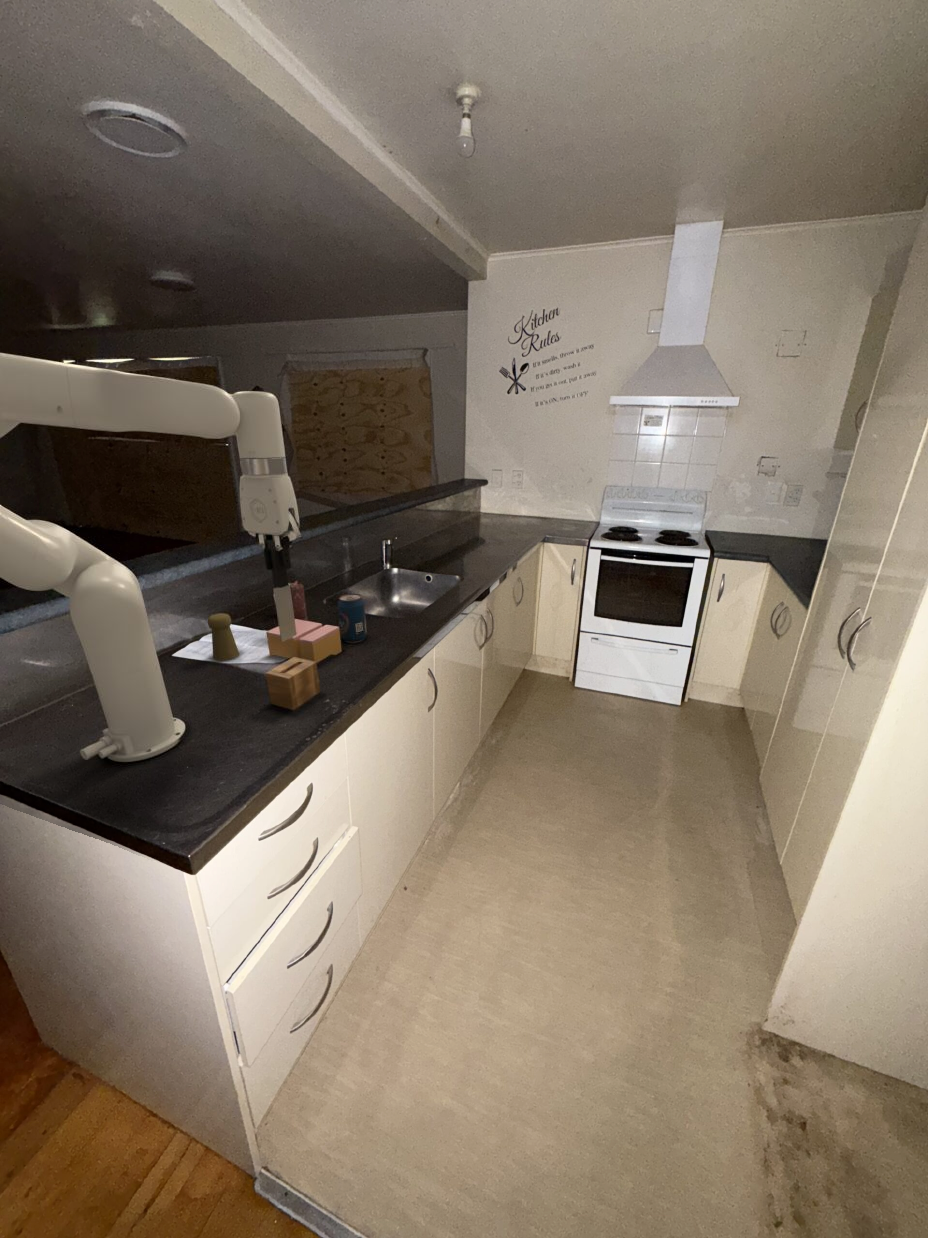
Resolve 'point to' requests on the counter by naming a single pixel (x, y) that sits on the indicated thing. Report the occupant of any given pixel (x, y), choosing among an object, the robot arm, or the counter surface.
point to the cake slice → (320, 643)
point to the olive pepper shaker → (222, 637)
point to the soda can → (352, 618)
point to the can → (298, 600)
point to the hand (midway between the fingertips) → (278, 568)
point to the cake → (290, 639)
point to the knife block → (293, 683)
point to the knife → (282, 598)
